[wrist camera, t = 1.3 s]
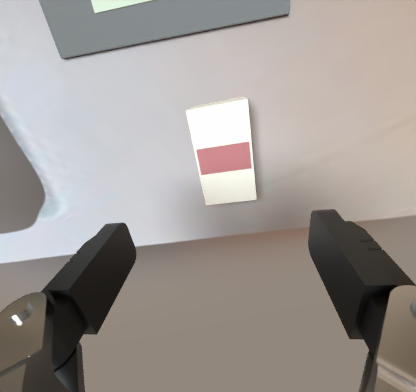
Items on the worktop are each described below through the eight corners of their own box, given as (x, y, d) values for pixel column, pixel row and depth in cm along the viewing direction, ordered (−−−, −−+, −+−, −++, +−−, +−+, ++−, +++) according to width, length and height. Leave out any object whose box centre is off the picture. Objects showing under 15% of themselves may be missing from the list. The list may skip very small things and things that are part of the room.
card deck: (244, 96, 20) (247, 98, 16) (252, 182, 24) (256, 200, 21) (193, 105, 21) (185, 110, 17) (209, 188, 25) (205, 205, 21)
